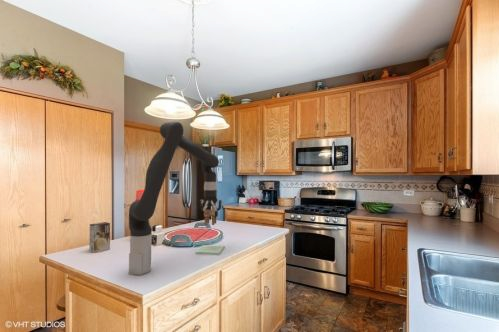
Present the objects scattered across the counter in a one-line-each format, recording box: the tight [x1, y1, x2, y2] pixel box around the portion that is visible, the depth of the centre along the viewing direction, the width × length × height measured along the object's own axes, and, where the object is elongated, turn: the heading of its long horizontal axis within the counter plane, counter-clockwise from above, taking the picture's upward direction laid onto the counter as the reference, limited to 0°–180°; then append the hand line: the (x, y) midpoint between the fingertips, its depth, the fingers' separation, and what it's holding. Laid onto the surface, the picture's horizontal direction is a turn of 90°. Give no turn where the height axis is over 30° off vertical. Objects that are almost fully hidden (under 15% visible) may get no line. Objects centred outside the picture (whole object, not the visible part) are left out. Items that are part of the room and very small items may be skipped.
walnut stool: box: [203, 209, 217, 226], centre depth 150 cm, size 6×6×8 cm
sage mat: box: [194, 244, 226, 256], centre depth 149 cm, size 14×14×1 cm
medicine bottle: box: [151, 224, 166, 247], centre depth 164 cm, size 7×7×12 cm
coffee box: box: [88, 221, 111, 254], centre depth 150 cm, size 9×6×16 cm
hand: (210, 217), depth 150 cm, fingers closed on walnut stool, 6 cm apart
